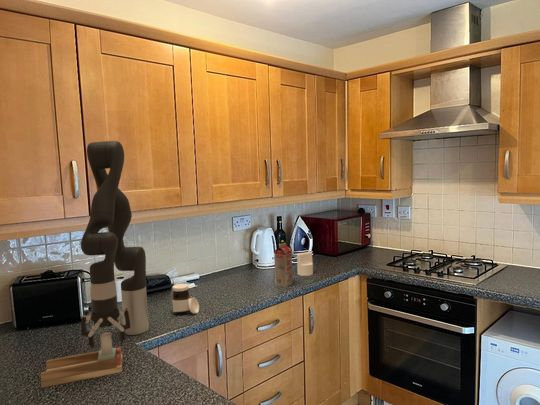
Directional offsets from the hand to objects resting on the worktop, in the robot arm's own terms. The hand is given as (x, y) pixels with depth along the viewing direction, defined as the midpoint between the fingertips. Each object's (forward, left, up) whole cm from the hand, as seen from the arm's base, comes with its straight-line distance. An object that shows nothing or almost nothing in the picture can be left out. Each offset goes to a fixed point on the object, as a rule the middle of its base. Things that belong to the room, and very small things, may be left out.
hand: (107, 344), depth 124 cm
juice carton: (-57, +84, -8) cm, 102 cm away
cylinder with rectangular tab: (-71, +103, -8) cm, 125 cm away
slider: (0, 0, -6) cm, 6 cm away
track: (0, -7, -8) cm, 10 cm away
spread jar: (-39, +30, -8) cm, 50 cm away
